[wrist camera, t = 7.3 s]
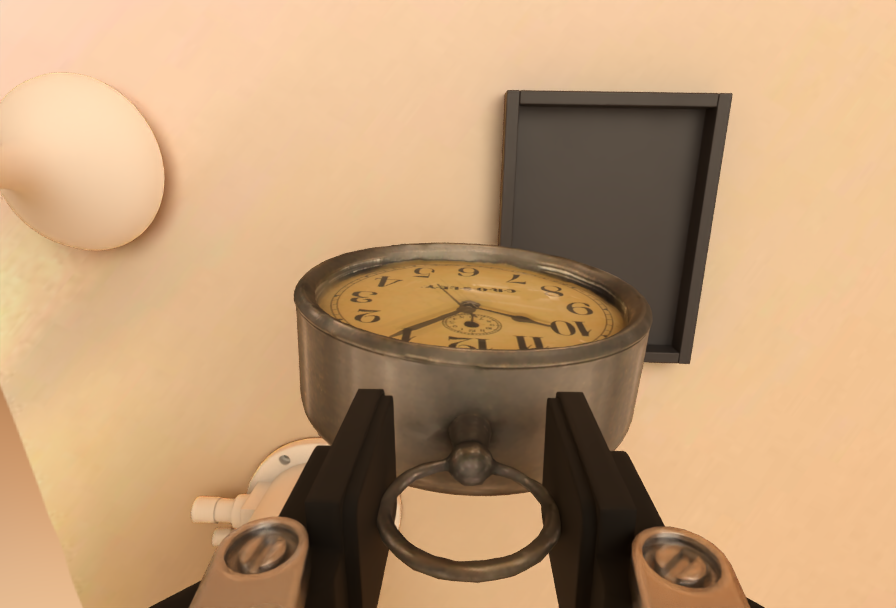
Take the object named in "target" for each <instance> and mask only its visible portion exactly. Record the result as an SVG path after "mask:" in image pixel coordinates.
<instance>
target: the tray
mask: <svg viewBox="0 0 896 608" xmlns="http://www.w3.org/2000/svg"><path fill="white" fill-rule="evenodd" d="M731 101H732V93H719V94H718V93H666V92H597V91H528V90H521V91H519V90H507V92H506V93H505V104H504V126H503V148H502V170H501V193H500V215H499V237H498V246H504V247H511V248H518V249H523V250H529V251H535V252H540V253H545V254H549V255H554V256H560V257H564V258H568V259H571V260H574V261H577V262H581V263H584V264H587V265H590V266H592V267H596V268H598V269H600V270H603V271H605V272H608V273H610V274H612V275H614V276H616V277H618V278H620V279H621V280H623V281H625V282H626V283H628V284H630V285H631V286H633V287H634V288H635V289H637V290H638V292H639V293H640V294H641V295H643V296H644V298H645V299H646V301H647V302H648V304H649V305H650V308H651V311H652V324H651V327H650V330H649V336H648V341H647V346H646V352H645V357H644V362H654V363H680V364H690V360H691V353H692V347H693V341H694V334H695V328H696V322H697V315H698V309H699V303H700V296H701V290H702V284H703V278H704V271H705V265H706V259H707V252H708V246H709V240H710V233H711V227H712V221H713V214H714V208H715V202H716V195H717V189H718V183H719V177H720V170H721V164H722V158H723V151H724V145H725V139H726V132H727V126H728V120H729V113H730V107H731Z"/></svg>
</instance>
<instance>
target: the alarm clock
mask: <svg viewBox="0 0 896 608" xmlns="http://www.w3.org/2000/svg"><path fill="white" fill-rule="evenodd" d="M294 302H295V304H296V311H297V329H298V349H299V369H300V390H301V398H302V402H303V406H304V410H305V413H306V415H307V417H308V419H309V421H310V422H311V424H312V425H313V427H314V428H315V430H316V431H317V432H318V434H319V435H320V436H321V437H322V438H323V439H324V440H325V441H326V442H327V443H328V444H329V445H332V443H333V441H334V439H335V437H336V435H337V433H338V430H339V428H340V426H341V424H342V422H343V420H344V418H345V416H346V414H347V412H348V409H349V407H350V405H351V403H352V401H353V399H354V397H355V395H356V393H357V391H358V389H384V393H385V395H391V396H393V403H394V428H395V454H396V479H395V480H394V481H393V482H392V483H391V484H390V486H389V487H388V488H387V490H386V491H385V493H384V494H383V497H382V499H381V502H380V507H379V511H378V516H377V530H378V532H379V534H380V537H381V540H382V541H383V543H384V544H385V545H386V546H387V547H388V548H389V549H390V550H391V552H392V553H393V554H394V555H395V556H396V557H397V558H398V559H400V560H401V561H402V562H403V563H405V564H406V565H407V566H409V567H410V568H412V569H413V570H415V571H418V572H421V573H423V574H426V575H429V576H432V577H434V578H437V579H443V580H450V581H461V582H475V583H479V582H486V581H492V580H498V579H503V578H508V577H512V576H515V575H517V574H519V573H521V572H523V571H525V570H527V569H529V568H530V567H532V566H534V565H535V564H537V563H539V562H541V561H542V560H543V558H544V557H545V556H546V555H547V554H548V553H549V552H550V551H551V550H552V549H553V547H554V546H555V545H556V544H557V542H558V540H559V538H560V535H561V520H560V514H559V510H558V507H557V505H556V503H555V501H554V500H553V498H552V496H551V494H550V492H549V491H548V490H547V489H546V488H545V487H543V486H542V479H543V461H544V442H545V423H546V405H547V399H548V398H556V393H557V392H583V393H584V395H585V398H586V400H587V402H588V404H589V406H590V408H591V411H592V413H593V415H594V417H595V419H596V422H597V424H598V426H599V428H600V430H601V432H602V435H603V437H604V439H605V441H606V443H607V446H608V448H609V450H610V451H614V450H615V449H616V448H617V447H618V446H619V445H620V443H621V442H622V441H623V439H624V437H625V435H626V433H627V432H628V429H629V427H630V424H631V422H632V418H633V412H634V407H635V402H636V397H637V393H638V387H639V382H640V377H641V372H642V367H643V362H644V357H645V352H646V346H647V341H648V336H649V330H650V327H651V324H652V311H651V308H650V305H649V304H648V302H647V301H646V299H645V298H644V296H643V295H641V294H640V293H639V292H638V290H637V289H635V288H634V287H633V286H631V285H630V284H628V283H626V282H625V281H623V280H621V279H620V278H618V277H616V276H614V275H612V274H610V273H608V272H605V271H603V270H600V269H598V268H596V267H592V266H590V265H587V264H584V263H581V262H577V261H574V260H571V259H568V258H564V257H560V256H554V255H549V254H545V253H540V252H535V251H529V250H523V249H518V248H511V247H504V246H493V245H481V244H465V243H419V244H401V245H392V246H386V247H375V248H369V249H364V250H358V251H354V252H349V253H345V254H342V255H340V256H336V257H334V258H331V259H329V260H326V261H324V262H322V263H320V264H319V265H317V266H315V267H313V268H312V269H311V270H310V271H308V272H307V273H306V274H305V275H304V276H303V277H302V278H301V279H300V281H299V282H298V284H297V285H296V288H295V291H294ZM408 486H410V487H414V488H418V489H422V490H428V491H433V492H439V493H446V494H454V495H468V496H497V495H511V494H518V493H525V492H531V493H532V494H533V495H534V497H535V498H536V499H537V500H538V502H539V503H540V504H541V506H542V507H543V510H544V514H545V521H544V526H543V529H542V530H541V532H540V534H539V536H538V537H537V538H536V539H535V540H533V541H532V542H531V543H530V544H529V545H528V546H526V547H525V548H523V549H521V550H520V551H518V552H516V553H514V554H512V555H508V556H505V557H500V558H494V559H489V560H480V561H453V560H450V559H446V558H442V557H437V556H434V555H431V554H429V553H427V552H425V551H423V550H421V549H419V548H417V547H415V546H414V545H412V544H411V543H410V542H408V541H407V540H406V538H405V537H404V536H403V535H402V534H401V533H400V532H399V530H398V529H397V527H396V525H395V523H394V520H393V518H392V514H393V507H394V502H395V501H396V499H397V497H398V496H399V495H400V494H401V493H402V491H403V490H404V489H405V488H406V487H408Z"/></svg>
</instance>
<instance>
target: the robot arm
mask: <svg viewBox="0 0 896 608" xmlns="http://www.w3.org/2000/svg"><path fill="white" fill-rule="evenodd" d="M395 479H396V454H395V428H394V403H393V396H391V395H385V393H384V389H358V391H357V393H356V395H355V397H354V399H353V401H352V403H351V405H350V407H349V409H348V412H347V414H346V416H345V418H344V420H343V422H342V424H341V426H340V428H339V430H338V433H337V435H336V437H335V439H334V441H333V443H332V445H329V444H328V443H327V442H326V441H325V440H324V439H323V438H308V439H303V440H298V441H294V442H291V443H289V444H287V445H284V446H282V447H280V448H278V449H277V450H276V451H274V452H273V453H271V454H270V455H269V456H268V457H267V458H266V459H265V460H264V461H263V462H262V463H261V464H260V466H259V467H258V469H257V470H256V472H255V473H254V475H253V476H252V479H251V481H250V483H249V486H248V489H247V494H239V495H238V496H237V497H236V498H235V499H228V498H223V497H212V496H199V497H197V498H196V499H195V501H194V503H193V505H192V509H191V519H192V521H193V522H198V523H219V522H225V523H231V525H232V527H233V528H218V527H217V528H216V529H215V531H214V533H213V536H212V545H213V546H218V547H217V549H216V550H215V552H214V555H213V557H212V559H211V561H210V563H209V565H208V568H207V570H206V572H205V574H204V576H203V578H202V580H201V581H199V582H197V583H196V584H194V585H192V586H190V587H188V588H186V589H184V590H182V591H180V592H178V593H176V594H174V595H172V596H170V597H168V598H166V599H165V600H163V601H161V602H159V603H157V604H155V605H153V606H151V607H149V608H377V604H378V599H379V595H380V590H381V585H382V580H383V575H384V570H385V566H386V561H387V556H388V551H389V548H388V547H387V546H386V545H385V544H384V543H383V541H382V540H381V537H380V534H379V532H378V530H377V516H378V511H379V507H380V502H381V499H382V497H383V494H384V493H385V491H386V490H387V488H388V487H389V486H390V484H391V483H392V482H393V481H394V480H395ZM542 486H543V487H545V488H546V489H547V490H548V491H549V492H550V494H551V496H552V498H553V500H554V501H555V503H556V505H557V507H558V510H559V514H560V520H561V535H560V538H559V540H558V542H557V544H556V545H555V546H554V547H553V549H552V550H551V551H550V552H549V557H550V562H551V567H552V573H553V578H554V583H555V588H556V594H557V599H558V604H559V608H764V607H763V606H761V605H759V604H757V603H756V602H754V601H752V600H750V599H748V598H747V597H746V596H745V594H744V592H743V590H742V588H741V585H740V583H739V581H738V579H737V577H736V574H735V572H734V570H733V568H732V565H731V564H730V562H729V561H728V559H727V558H726V556H725V555H724V553H723V552H722V551H720V550H719V549H718V548H717V547H716V546H715V545H714V544H713V543H711V542H709V541H708V540H706V539H704V538H703V537H701V536H699V535H697V534H694V533H692V532H689V531H687V530H684V529H679V528H674V527H665V526H664V524H663V522H662V520H661V518H660V516H659V514H658V512H657V510H656V508H655V506H654V504H653V502H652V500H651V498H650V496H649V494H648V493H647V491H646V489H645V487H644V485H643V483H642V481H641V479H640V477H639V475H638V473H637V471H636V469H635V467H634V465H633V463H632V461H631V459H630V457H629V456H628V454H627V453H626V452H624V451H610V450H609V448H608V446H607V443H606V441H605V439H604V437H603V435H602V432H601V430H600V428H599V426H598V424H597V422H596V419H595V417H594V415H593V413H592V411H591V408H590V406H589V404H588V402H587V400H586V398H585V395H584V393H583V392H557V393H556V398H548V399H547V405H546V423H545V442H544V461H543V479H542ZM401 509H402V505H401V499H400V495H399V496H398V497H397V499H396V501H395V502H394V507H393V514H392V518H393V520H394V523H395V525H396V527H397V529H398V530H399V526H400V521H401ZM541 511H542V520H543V525H544V521H545V514H544V510H543V507H542V506H541ZM234 528H237V529H234Z"/></svg>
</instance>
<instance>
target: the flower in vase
mask: <svg viewBox="0 0 896 608" xmlns="http://www.w3.org/2000/svg"><path fill="white" fill-rule="evenodd" d="M0 192H1V194H2V196H3V197H4V199H5V200H6V202H7V203H8V205H9V206H10V207H11V209H12V210H13V211H14V212H15V214H16V215H17V216H18V217H19V218H20V219H21V220H22V221H23V222H24V223H26V224H27V225H28V226H29V227H31V228H32V229H33V230H35V231H36V232H38V233H39V234H41V235H42V236H44V237H46V238H48V239H50V240H52V241H55V242H57V243H60V244H63V245H66V246H70V247H74V248H78V249H84V250H107V249H113V248H117V247H120V246H123V245H125V244H127V243H129V242H131V241H132V240H134V239H135V238H137V237H138V236H140V235H141V234H142V233H143V232H144V231H145V230H146V229H147V228H148V226H149V225H150V224H151V223H152V221H153V219H154V218H155V216H156V214H157V212H158V210H159V207H160V204H161V201H162V197H163V192H164V167H163V161H162V156H161V153H160V149H159V146H158V143H157V141H156V139H155V136H154V134H153V132H152V130H151V129H150V127H149V125H148V123H147V122H146V120H145V119H144V118H143V116H142V115H141V113H140V112H139V111H138V110H137V109H136V108H135V107H134V106H133V104H132V103H131V102H130V101H128V100H127V99H126V98H125V97H124V96H123V95H122V94H120V93H119V92H117V91H116V90H115V89H113V88H112V87H110V86H108V85H106V84H105V83H103V82H101V81H99V80H96V79H94V78H91V77H89V76H85V75H81V74H76V73H67V72H58V73H49V74H44V75H41V76H38V77H35V78H32V79H30V80H27V81H25V82H23V83H21V84H19V85H18V86H16V87H15V88H13V89H12V90H11V91H10V92H8V94H7V95H6V96H5V97H4V98H3V99H2V100H1V102H0Z"/></svg>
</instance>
